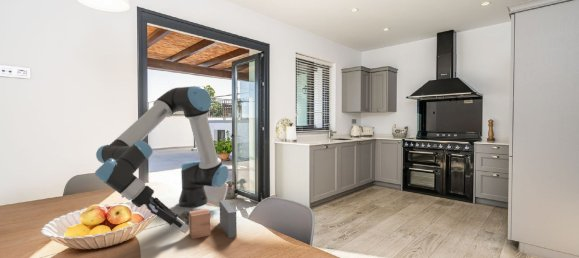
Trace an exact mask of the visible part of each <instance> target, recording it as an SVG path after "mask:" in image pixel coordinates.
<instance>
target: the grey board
mask: <svg viewBox="0 0 579 258" xmlns="http://www.w3.org/2000/svg"><path fill="white" fill-rule="evenodd" d="M219 223H221V224H220V226H221V227H222V228H223V230H224V232H225V234H226V235H227V237H228V239H232V238H237V236H238V235H237V233H238V232H237V211H236V209H234V207H233V206H232V205H231V203H230V202H229V201H228V199H221V200H219Z"/></svg>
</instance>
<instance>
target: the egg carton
mask: <svg viewBox="0 0 579 258" xmlns="http://www.w3.org/2000/svg"><path fill="white" fill-rule="evenodd" d="M189 211H195V209H193V208H191V209H189V210H187V211H183V212H180V213H179V214H178V213H177V214H178V216H177V217H178V218H179V219H181V220H182V221H183V222H185V223H186V224H189ZM177 217H176V218H177Z"/></svg>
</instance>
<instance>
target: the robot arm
mask: <svg viewBox="0 0 579 258" xmlns="http://www.w3.org/2000/svg"><path fill="white" fill-rule="evenodd" d="M152 104H153V105H152V107H150V108H149V109H148V110H147V111H145V113H144V114H142V115H141V116H140V117H139V118H138V119H137V120H135V122H133V123H132V124H131V125H129V127H127V128H126V129H125V130H124V131H123V132H122V133H121V134H120V135H119V136H118V137H116V139H114V140H113V141H112V142H111V143H110V144H106V145H102V146H100V147H98V149H97V151H96V153H95V156H96V159H97V161H98V162H100V163H101V166H99V167H98V168H97V169H96V170H95V172H94V174H95V176H96V177H97V178H98V179H99V180H100V181H101V182H103V183H104V184H105V185H107V186H108V187H110V188H111V189H113V190H114V191H115V192H117V193H118V194H120V195H121V199H122V198H125V199H127V200H128V201H130V202H131V203H132V204H133V205H134V206H136V207H137V208H140V207H141V208H142V206H143V205H145V207H146V209H147V210H149V211H150V213H151V214H153V215H154V216H157V217H158V218H159V219H161V220H163V221H164V222H166V223H168V224H169V226H172V225H173V226H175V227H176V229H179V230H180V231H181V232H183V233H184V234H186V233H187V232H188V231H189V229H190V226H189V224H188V223H185V222H183V221H182V220H181V219H179V218H178V217H177V216H178V213H175V212H174V211H172V210H171V209H170V208H169V207H168V206H166V204H165V203H163V202H162V201H161V200H160V199H159V198H158V197H153V195H154V193H155V190H154V189H153V188H151V187H150V186H149V185H146V183H145V182H144V181H142V180H141V179H140V177H137V176H136V175H135V173H136V171H138V169H140V167H141V166H143V164H145V162H147V161H148V159H149V158H150V157H151V156H152V155H153V149H152V147H151V145H150V144H149V143H148V142H146V141H144V140H145V138H146V137H147V136H148V135H149V134H150V133H151V132H152V131H153V130H155V128H156V127H157V126H159V125H160V124H161V122H163V121H164V120H165V119H166V118H168V117H169V118H170V117H171V116H172V115H173V114H174V113H177V112H183V115H184V117H185V118H186V119H187V120H188V121H189V124H190V128H191V131H192V134H193V138H194V142H195V146H196V149H197V153H198V156H199V160H196V161H195V160H194V161H188V162H185V163H182V165H181V170H180V173H181V193H180V195H179V199H178V206H180V207H183V208H184V207H185V208H191V207H192V208H193V207H199V206H202V205H206V204H207V203H208V201H209V200H208V195H207V192H206V190H205V187H213V188H221V187H223V186H224V185H225V184H226V182H227V181H228V178H229V168H228V166H227V165H225V164H223V162H222V159H221V158H219V157H218V155H217V151H216V147H215V143H214V139H213V135H212V131H211V128H210V127H211V126H210V123H209V120H208V114H209V113H210V110H209V109H211V107H212V97H211V94H210V93H209V91H208V90H207V89H206V88H205V87H203V86H195V85H193V86H183V87H174V88H171V89H169V90H168V91H166V92H165V93H163V94H162V95H160V96H159V97H158V98H157V99H156V100H154V102H153V103H152ZM176 217H177V218H176Z"/></svg>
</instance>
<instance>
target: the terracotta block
mask: <svg viewBox="0 0 579 258" xmlns="http://www.w3.org/2000/svg"><path fill="white" fill-rule="evenodd" d="M188 211H189V210H188ZM188 225H189V226H190V229H189V230H188V231H189V236H190V237H191V239H192V240H193V239H199V238H202V237H208V236H211V212H210V211H209V210H208V208H203V209H197V210H194V211H189V222H188Z"/></svg>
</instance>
